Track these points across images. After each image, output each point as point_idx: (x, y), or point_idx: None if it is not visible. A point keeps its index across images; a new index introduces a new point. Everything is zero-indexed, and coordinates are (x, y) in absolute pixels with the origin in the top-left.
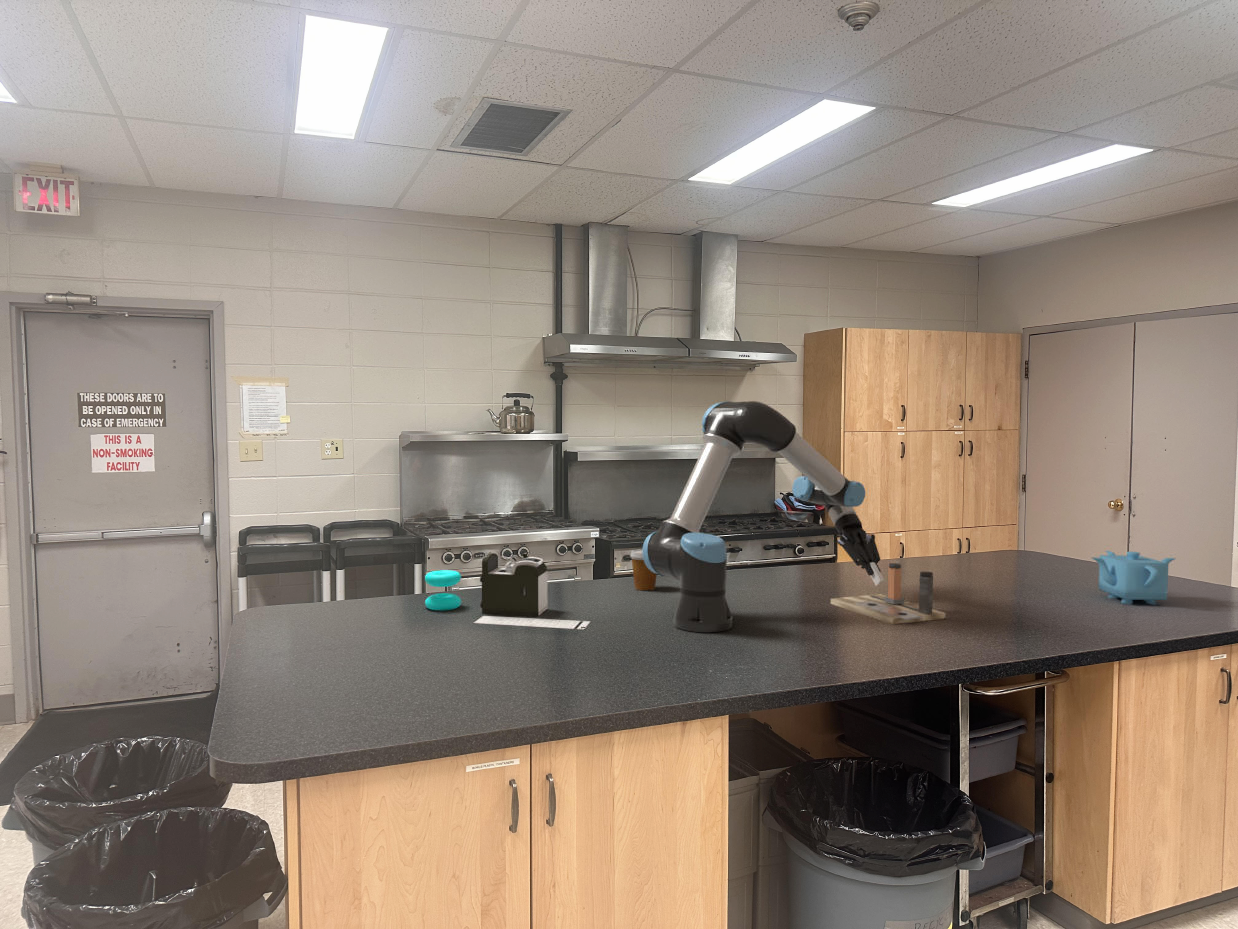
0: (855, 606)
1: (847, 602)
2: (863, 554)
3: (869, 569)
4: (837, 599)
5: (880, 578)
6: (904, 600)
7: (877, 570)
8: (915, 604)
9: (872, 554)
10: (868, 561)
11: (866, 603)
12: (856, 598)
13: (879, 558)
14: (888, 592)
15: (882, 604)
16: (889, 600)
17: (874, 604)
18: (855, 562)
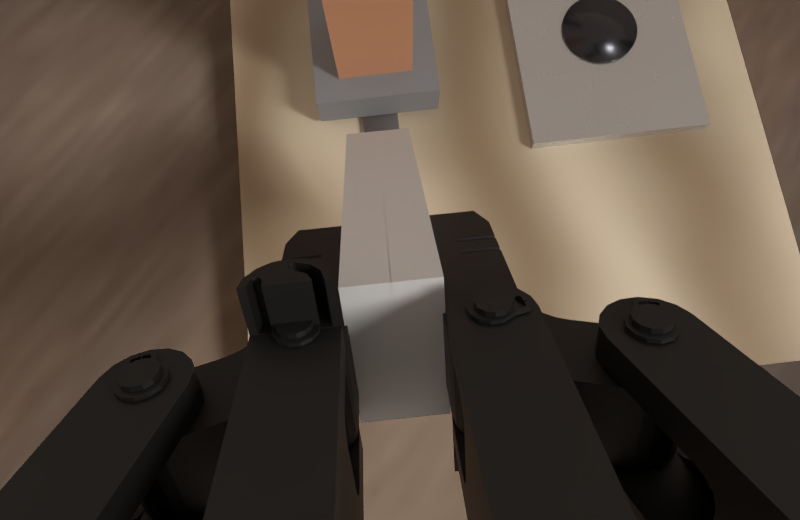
0: (736, 49)
1: (738, 185)
2: (566, 457)
3: (490, 237)
4: (779, 308)
5: (391, 139)
6: (310, 4)
7: (373, 193)
8: (235, 4)
9: (231, 480)
10: (477, 298)
11: (625, 70)
12: (584, 304)
13: (128, 365)
14: (412, 36)
15: (516, 13)
16: (430, 32)
17: (586, 15)
18: (698, 472)
